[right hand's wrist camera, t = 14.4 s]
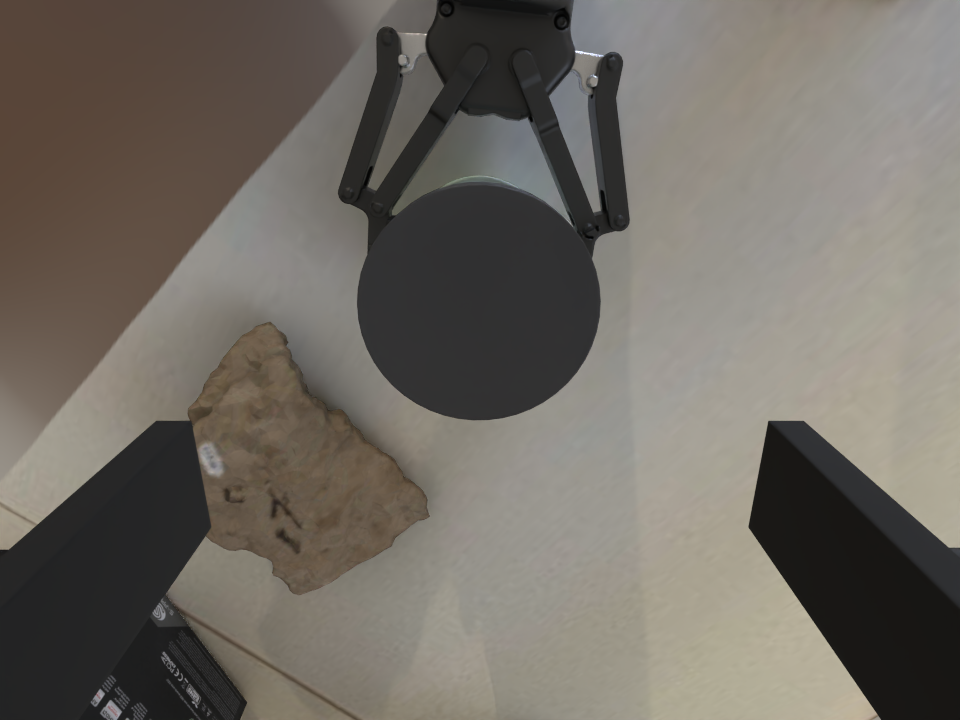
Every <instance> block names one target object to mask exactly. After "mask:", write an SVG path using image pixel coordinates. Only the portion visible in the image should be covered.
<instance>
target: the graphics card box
mask: <svg viewBox="0 0 960 720" xmlns="http://www.w3.org/2000/svg"><path fill="white" fill-rule="evenodd" d="M246 704H247V702H246V700H245V699H244V698H243V696H242V695H241V694H240V693H239V691H238V690H237V689H236V687H235V686H234V685H233V683H232V682H231V681H230V679H229V678H228V677H227V676H226V674H225V673H224V671H223V670H222V669H221V668H220V666H219V665H218V664H217V662H216V661H215V660H214V659H213V657H212V656H211V655H210V654H209V652H208V650H207V649H206V648H205V647H204V645H203V644H202V643H201V642H200V640H199V639H198V638H197V636H196V635H195V634H194V632H193V631H192V630H191V629H190V627H189V626H188V624H187V623H186V622H185V620H184V619H183V618H182V617H181V615H180V614H179V613H178V611H177V610H176V609H175V607H174V606H173V605H172V603H171V602H170V601H169V600H168V598H167V597H166V595H164V597H163V598H162V600H161V601H160V603H159V604H158V606H157V607H156V608H155V610H154V611H153V613H152V614H151V616H150V617H149V619H148V620H147V621H146V623H145V624H144V626H143V627H142V629H141V630H140V632H139V633H138V635H137V636H136V637H135V639H134V640H133V642H132V643H131V645H130V646H129V648H128V649H127V650H126V652H125V653H124V655H123V656H122V658H121V659H120V661H119V662H118V664H117V665H116V666H115V668H114V669H113V671H112V672H111V674H110V675H109V677H108V678H107V679H106V681H105V682H104V684H103V685H102V687H101V688H100V690H99V691H98V693H97V694H96V695H95V697H94V698H93V700H92V701H91V703H90V704H89V706H88V707H87V708H86V710H85V711H84V713H83V714H82V716H81V717H80V719H79V720H240V718H241V716H242V714H243V711H244V708H245V706H246Z"/></svg>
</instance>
